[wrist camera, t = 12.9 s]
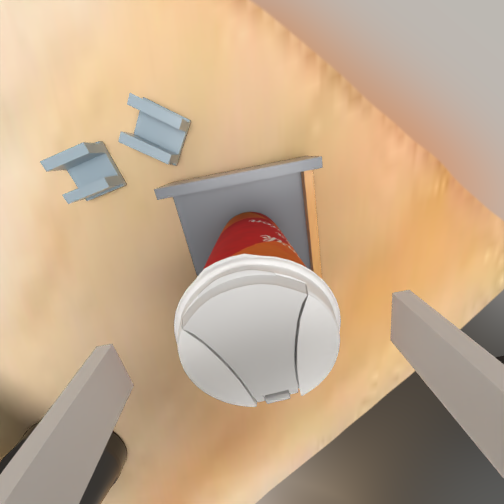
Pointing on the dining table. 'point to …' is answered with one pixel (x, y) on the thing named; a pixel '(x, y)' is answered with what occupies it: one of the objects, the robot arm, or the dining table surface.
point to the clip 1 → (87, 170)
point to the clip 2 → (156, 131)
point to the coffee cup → (256, 318)
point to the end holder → (250, 205)
